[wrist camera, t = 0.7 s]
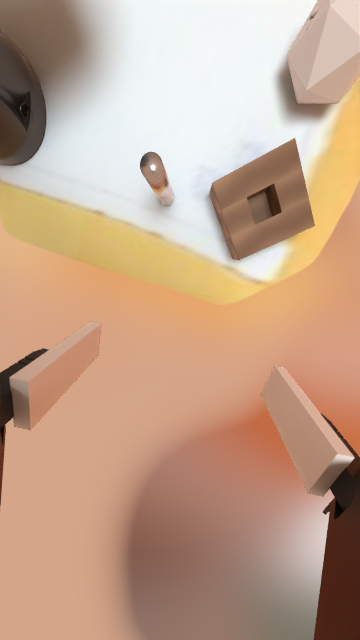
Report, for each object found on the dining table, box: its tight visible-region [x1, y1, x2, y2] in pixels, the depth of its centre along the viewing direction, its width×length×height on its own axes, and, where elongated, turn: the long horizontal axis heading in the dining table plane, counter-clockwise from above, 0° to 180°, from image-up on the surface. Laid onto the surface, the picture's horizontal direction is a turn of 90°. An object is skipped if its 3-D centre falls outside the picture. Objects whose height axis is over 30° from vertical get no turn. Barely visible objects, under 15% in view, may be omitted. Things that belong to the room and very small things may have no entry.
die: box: [287, 0, 360, 104], centre depth 22 cm, size 8×9×10 cm
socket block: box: [210, 138, 315, 260], centre depth 29 cm, size 11×11×5 cm
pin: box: [140, 152, 174, 206], centre depth 26 cm, size 2×2×12 cm
